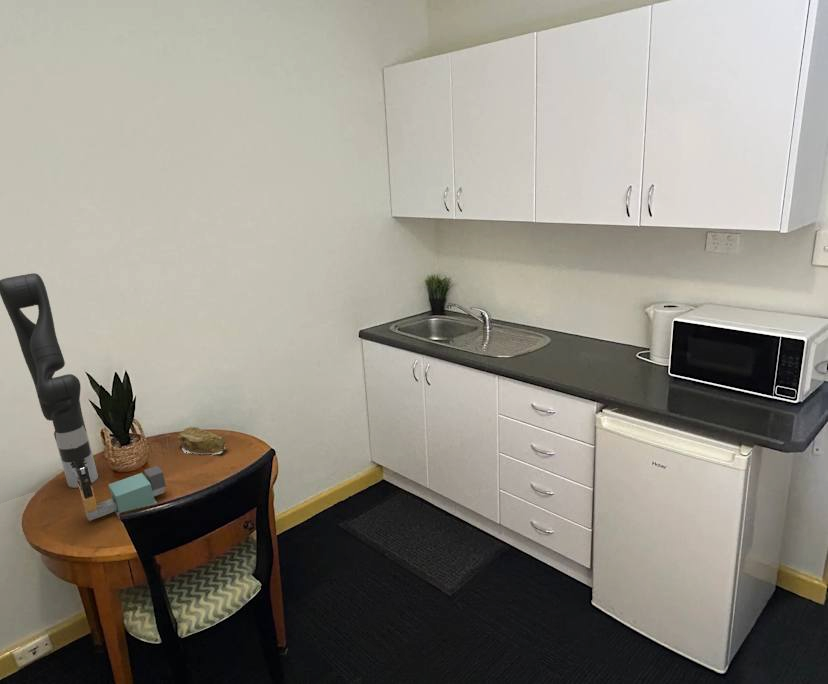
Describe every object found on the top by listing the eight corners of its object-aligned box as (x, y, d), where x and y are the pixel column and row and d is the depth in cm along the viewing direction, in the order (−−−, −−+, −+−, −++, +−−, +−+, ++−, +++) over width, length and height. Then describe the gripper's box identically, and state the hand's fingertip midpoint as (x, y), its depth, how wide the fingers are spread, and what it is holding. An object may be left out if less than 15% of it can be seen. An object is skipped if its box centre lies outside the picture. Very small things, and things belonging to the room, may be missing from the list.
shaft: (86, 515, 176) (77, 482, 173) (161, 487, 189) (154, 456, 186) (89, 521, 173) (80, 487, 170) (164, 492, 186) (157, 460, 183)
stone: (235, 447, 217) (232, 431, 215) (216, 460, 209) (212, 443, 207) (193, 439, 226) (190, 423, 224) (172, 451, 218) (169, 434, 216)
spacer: (147, 483, 187) (144, 470, 186) (160, 479, 189) (157, 465, 188) (152, 490, 182) (149, 476, 181) (165, 486, 185) (162, 472, 183)
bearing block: (111, 505, 184) (106, 484, 181) (147, 491, 190) (143, 471, 188) (120, 519, 175) (114, 498, 173) (157, 505, 182) (153, 484, 180)
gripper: (54, 439, 171) (67, 487, 176) (62, 454, 160) (76, 506, 165) (82, 431, 176) (94, 478, 180) (92, 445, 165) (105, 496, 169)
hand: (86, 491), depth 173 cm, fingers open, 8 cm apart
